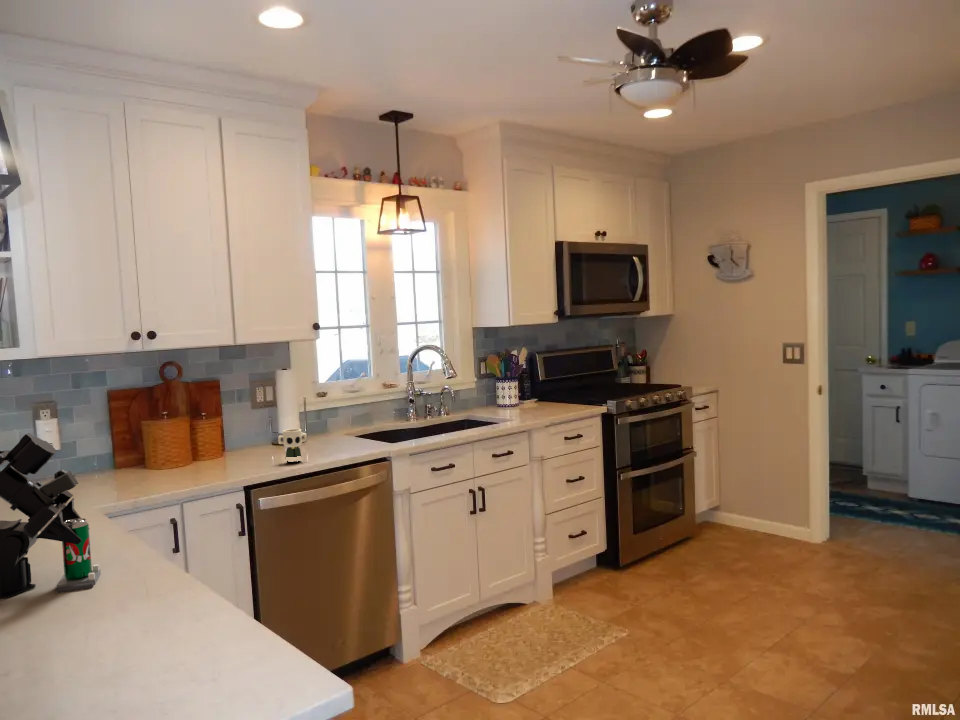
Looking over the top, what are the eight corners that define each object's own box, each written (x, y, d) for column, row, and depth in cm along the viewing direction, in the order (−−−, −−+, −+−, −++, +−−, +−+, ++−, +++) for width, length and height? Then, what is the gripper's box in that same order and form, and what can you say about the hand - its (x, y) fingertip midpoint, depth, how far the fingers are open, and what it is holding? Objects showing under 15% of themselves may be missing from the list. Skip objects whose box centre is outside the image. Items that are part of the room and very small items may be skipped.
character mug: (280, 465, 271) (278, 432, 270) (278, 462, 277) (276, 430, 277) (309, 462, 275) (307, 429, 275) (306, 459, 282) (304, 427, 281)
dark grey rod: (56, 594, 142) (55, 588, 142) (57, 592, 143) (57, 586, 143) (93, 589, 144) (92, 583, 144) (94, 587, 145) (93, 581, 145)
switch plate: (56, 590, 144) (56, 579, 144) (64, 579, 151) (63, 568, 150) (95, 584, 146) (94, 573, 146) (100, 573, 153) (100, 563, 153)
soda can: (86, 571, 152) (83, 516, 152) (96, 575, 149) (92, 519, 148) (61, 578, 148) (57, 521, 148) (69, 583, 145) (65, 525, 144)
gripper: (38, 468, 137) (105, 516, 142) (58, 453, 155) (118, 497, 159) (-6, 513, 135) (63, 561, 139) (19, 493, 152) (81, 536, 157)
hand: (84, 536), depth 149 cm, fingers open, 9 cm apart
